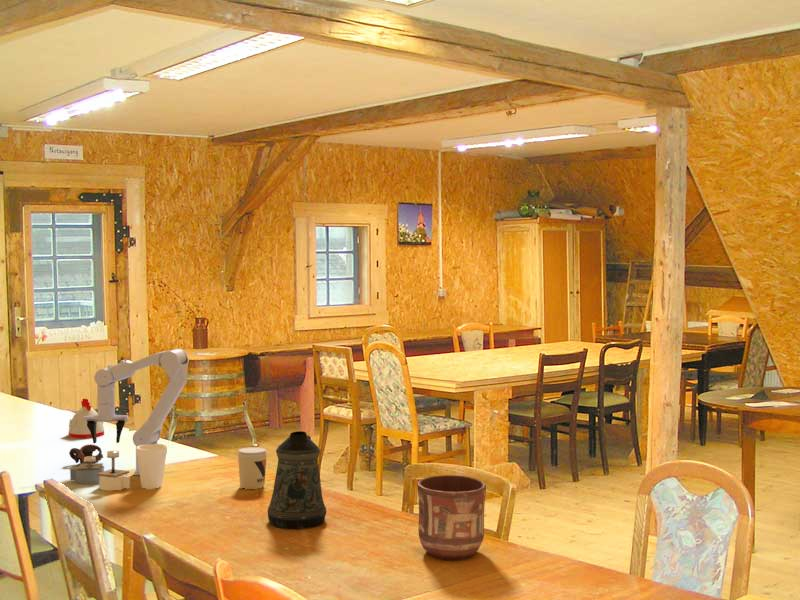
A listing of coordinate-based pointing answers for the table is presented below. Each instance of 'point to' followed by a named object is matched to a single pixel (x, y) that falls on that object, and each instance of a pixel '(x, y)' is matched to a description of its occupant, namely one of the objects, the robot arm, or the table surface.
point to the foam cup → (151, 464)
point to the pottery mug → (85, 453)
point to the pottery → (451, 515)
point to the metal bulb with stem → (89, 460)
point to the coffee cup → (252, 467)
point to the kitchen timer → (79, 426)
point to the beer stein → (297, 485)
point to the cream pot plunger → (113, 458)
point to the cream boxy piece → (114, 480)
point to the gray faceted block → (86, 473)
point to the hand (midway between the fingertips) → (106, 442)
